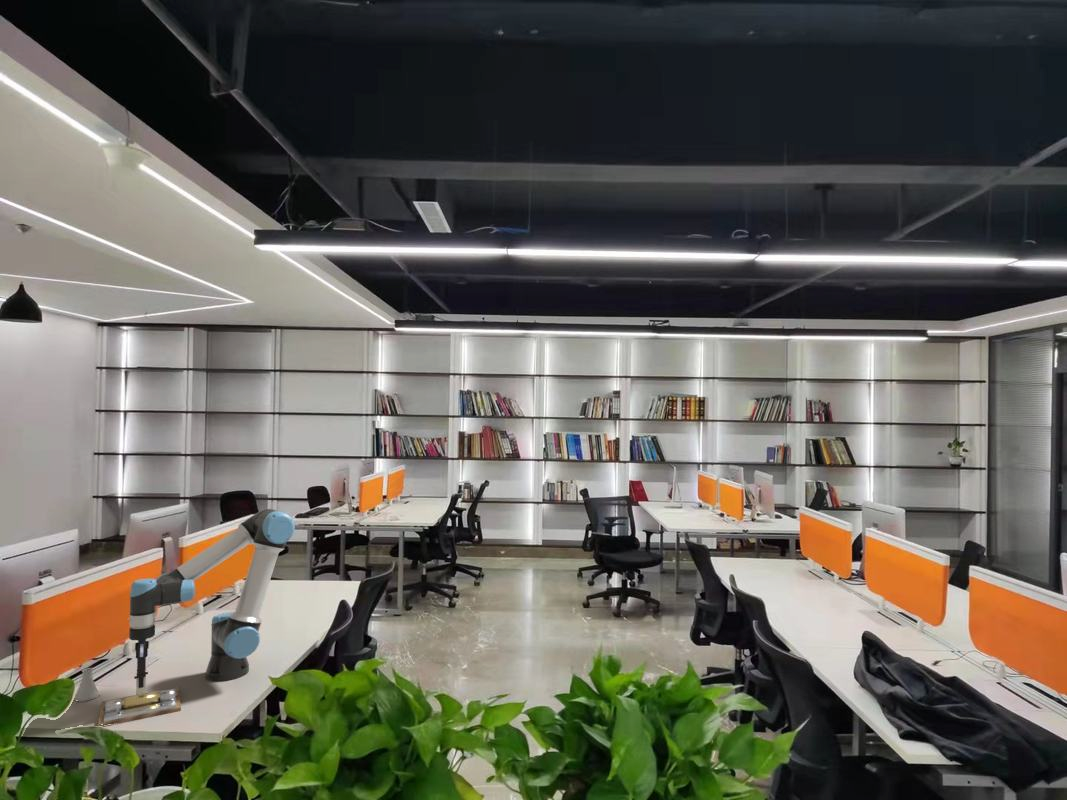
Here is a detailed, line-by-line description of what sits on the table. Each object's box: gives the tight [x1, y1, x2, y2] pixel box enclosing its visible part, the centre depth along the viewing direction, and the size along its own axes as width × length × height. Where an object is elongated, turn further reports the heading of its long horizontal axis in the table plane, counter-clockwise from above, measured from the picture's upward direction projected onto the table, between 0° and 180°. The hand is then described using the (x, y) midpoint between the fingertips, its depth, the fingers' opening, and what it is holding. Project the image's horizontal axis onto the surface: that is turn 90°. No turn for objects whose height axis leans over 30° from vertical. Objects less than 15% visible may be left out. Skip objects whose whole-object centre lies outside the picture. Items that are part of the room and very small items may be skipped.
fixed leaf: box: [103, 688, 177, 722], centre depth 212 cm, size 21×8×4 cm, turn 121°
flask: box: [73, 667, 100, 703], centre depth 225 cm, size 7×7×10 cm
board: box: [97, 686, 182, 728], centre depth 217 cm, size 23×20×1 cm
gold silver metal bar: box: [122, 691, 160, 710], centre depth 216 cm, size 20×8×4 cm, turn 121°
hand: (140, 696), depth 216 cm, fingers closed
